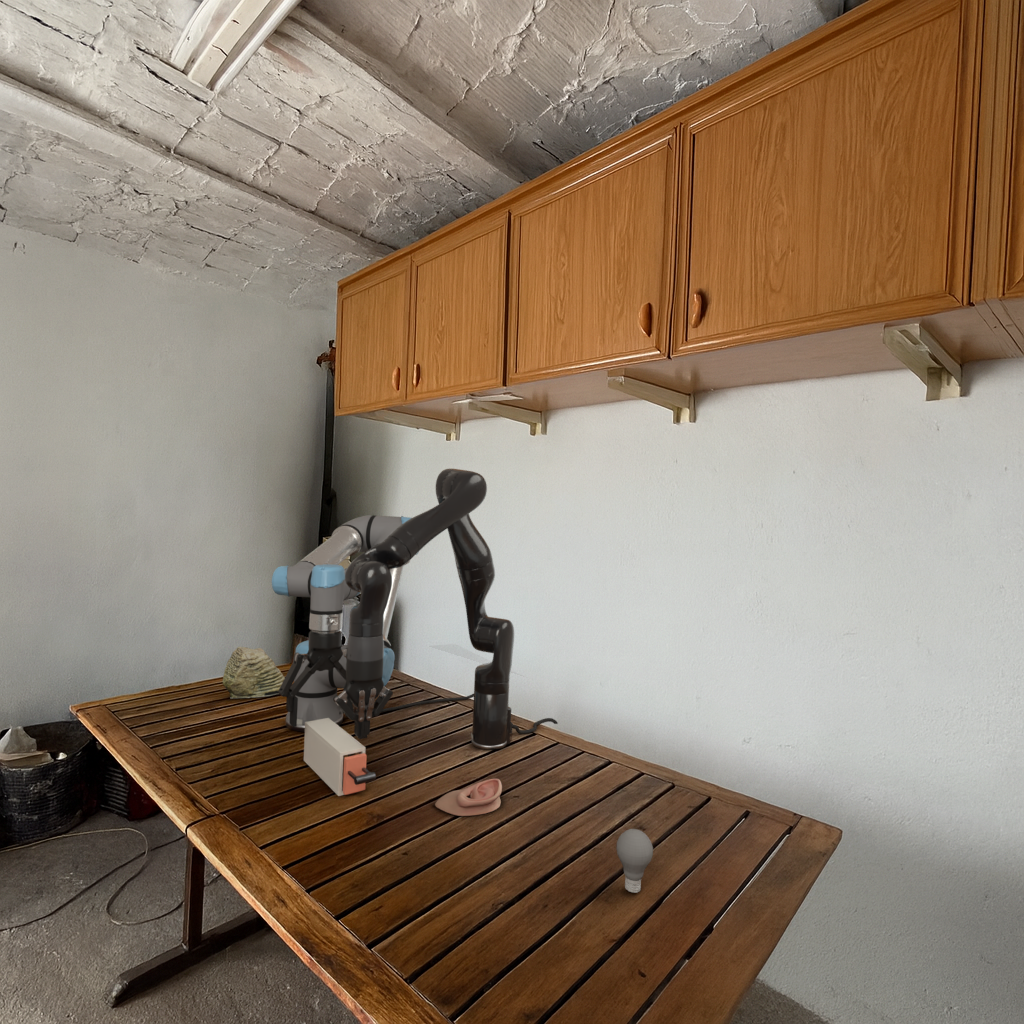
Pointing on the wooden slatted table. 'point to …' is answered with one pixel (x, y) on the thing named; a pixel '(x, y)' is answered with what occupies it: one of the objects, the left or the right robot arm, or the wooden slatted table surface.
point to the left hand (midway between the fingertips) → (321, 720)
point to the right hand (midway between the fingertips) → (362, 737)
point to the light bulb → (634, 857)
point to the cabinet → (328, 751)
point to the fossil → (251, 674)
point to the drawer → (355, 773)
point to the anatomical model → (472, 799)
